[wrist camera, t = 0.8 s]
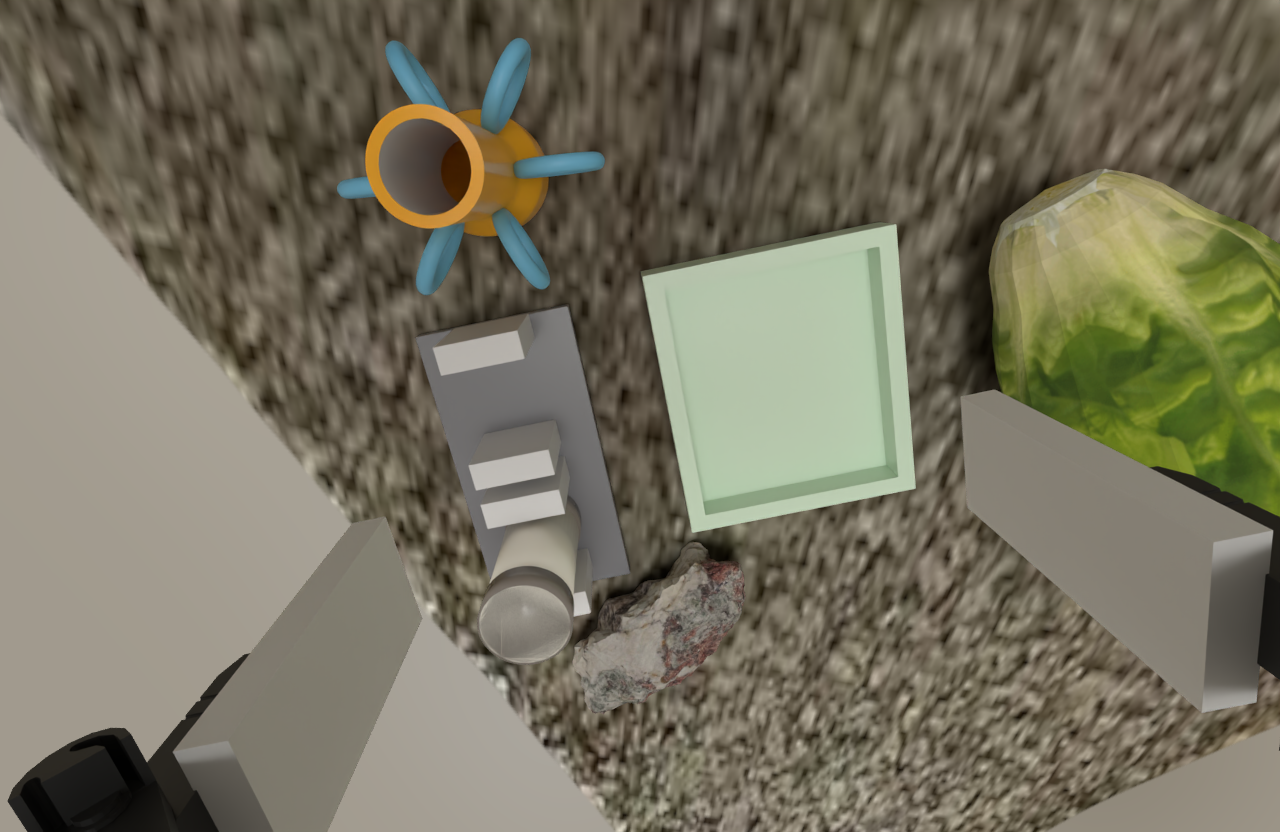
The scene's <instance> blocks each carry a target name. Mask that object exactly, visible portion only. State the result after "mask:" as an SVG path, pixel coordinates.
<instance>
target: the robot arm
mask: <svg viewBox="0 0 1280 832" xmlns="http://www.w3.org/2000/svg"><path fill="white" fill-rule="evenodd" d="M961 413H962V430H963V446H964V463H965V479H966V496H967V508H969V509H970V510H971V511H972V512H973V513H974V514H975V515H977V516H978V517H979V518H980V519H981V520H982V521H983V522H985V523H986V524H987V525H988V526H989V527H990V528H991V529H993V530H994V531H995V532H996V533H997V534H998V535H999V536H1001V537H1002V538H1003V539H1004V540H1005V541H1006V542H1007V543H1009V544H1010V545H1011V546H1012V547H1013V548H1014V549H1015V550H1017V551H1018V552H1019V553H1020V554H1021V555H1022V556H1023V557H1025V558H1026V559H1027V560H1028V561H1029V562H1030V563H1031V564H1033V565H1034V566H1035V567H1036V568H1037V569H1038V570H1039V571H1041V572H1042V573H1043V574H1044V575H1045V576H1046V577H1047V578H1049V579H1050V580H1051V581H1052V582H1053V583H1054V584H1055V585H1057V586H1058V587H1059V588H1060V589H1061V590H1062V591H1063V592H1064V593H1066V594H1067V595H1068V596H1069V597H1070V598H1071V599H1072V600H1074V601H1075V602H1076V603H1077V604H1078V605H1079V606H1080V607H1082V608H1083V609H1084V610H1085V611H1086V612H1087V613H1088V614H1090V615H1091V616H1092V617H1093V618H1094V619H1095V620H1096V621H1098V622H1099V623H1100V624H1101V625H1102V626H1103V627H1104V628H1106V629H1107V630H1108V631H1109V632H1110V633H1111V634H1112V635H1114V636H1115V637H1116V638H1117V639H1118V640H1119V641H1120V642H1122V643H1123V644H1124V645H1125V646H1126V647H1127V648H1128V649H1130V650H1131V651H1132V652H1133V653H1134V654H1135V655H1136V656H1138V657H1139V658H1140V659H1141V660H1142V661H1143V662H1144V663H1146V664H1147V665H1148V666H1149V667H1150V668H1151V669H1152V670H1154V671H1155V672H1156V673H1157V674H1158V675H1159V676H1160V677H1161V678H1163V679H1164V680H1165V681H1166V682H1167V683H1168V684H1169V685H1171V686H1172V687H1173V688H1174V689H1175V690H1176V691H1177V692H1179V693H1180V694H1181V695H1182V696H1183V697H1184V698H1185V699H1187V700H1188V701H1189V702H1190V703H1191V704H1192V705H1193V706H1195V707H1196V708H1197V709H1198V710H1199V711H1200V712H1201V713H1204V712H1209V711H1214V710H1219V709H1224V708H1230V707H1235V706H1240V705H1245V704H1250V703H1255V702H1256V700H1257V690H1258V680H1259V670H1260V666H1262V667H1263V668H1264V669H1266V670H1267V671H1268V672H1270V673H1271V674H1273V675H1274V676H1275V677H1277V678H1278V679H1279V680H1280V517H1279V516H1277V515H1275V514H1273V513H1270V512H1268V511H1266V510H1264V509H1262V508H1260V507H1258V506H1256V505H1254V504H1252V503H1250V502H1247V503H1244V501H1243V499H1241V498H1239V497H1237V496H1235V495H1233V494H1231V493H1229V492H1227V491H1223V492H1221V490H1220V488H1219V487H1216V486H1214V485H1212V484H1210V483H1208V482H1206V481H1204V480H1202V479H1200V478H1198V477H1196V476H1194V475H1191V474H1187V473H1183V472H1179V471H1175V470H1171V469H1167V468H1163V467H1159V466H1155V467H1150V468H1149V467H1147V466H1145V465H1143V464H1141V463H1139V462H1137V461H1135V460H1133V459H1131V458H1129V457H1127V456H1125V455H1123V454H1121V453H1119V452H1117V451H1115V450H1113V449H1111V448H1109V447H1107V446H1105V445H1103V444H1102V443H1100V442H1098V441H1096V440H1094V439H1092V438H1090V437H1088V436H1086V435H1084V434H1082V433H1080V432H1078V431H1076V430H1074V429H1072V428H1070V427H1068V426H1066V425H1064V424H1062V423H1060V422H1058V421H1056V420H1054V419H1052V418H1050V417H1048V416H1046V415H1044V414H1042V413H1040V412H1038V411H1036V410H1034V409H1032V408H1030V407H1028V406H1026V405H1024V404H1023V403H1021V402H1019V401H1017V400H1015V399H1013V398H1011V397H1009V396H1007V395H1005V394H1003V393H1001V392H999V391H997V390H990V391H985V392H980V393H976V394H971V395H966V396H961ZM421 620H422V617H421V614H420V611H419V608H418V605H417V603H416V600H415V597H414V594H413V592H412V589H411V586H410V583H409V580H408V578H407V575H406V572H405V569H404V567H403V564H402V561H401V558H400V556H399V553H398V550H397V547H396V545H395V542H394V539H393V536H392V534H391V531H390V528H389V525H388V522H387V520H386V517H381V518H376V519H371V520H366V521H361V522H357V523H352V525H351V526H350V527H349V528H348V530H347V531H346V533H345V534H344V535H343V536H342V537H341V539H340V540H339V541H338V542H337V544H336V545H335V546H334V548H333V549H332V550H331V551H330V553H329V554H328V555H327V556H326V558H325V559H324V560H323V561H322V563H321V564H320V565H319V567H318V568H317V569H316V570H315V572H314V573H313V574H312V575H311V577H310V578H309V579H308V581H307V582H306V583H305V584H304V586H303V587H302V588H301V589H300V591H299V592H298V593H297V595H296V596H295V597H294V599H293V600H292V601H291V602H290V603H289V605H288V606H287V607H286V608H285V610H284V611H283V612H282V614H281V615H280V616H279V617H278V619H277V620H276V621H275V622H274V624H273V625H272V626H271V628H270V629H269V630H268V632H267V633H266V634H265V635H264V636H263V638H262V639H261V641H260V642H259V643H258V644H257V646H256V647H255V648H254V649H253V650H252V652H251V653H249V654H245V655H243V656H242V657H241V658H239V659H238V660H237V661H236V662H234V663H233V664H232V665H231V666H229V667H228V668H227V669H226V670H225V671H223V672H222V673H221V674H220V675H218V677H217V678H216V679H215V680H214V681H213V683H212V684H211V685H210V686H209V687H208V689H207V690H206V691H205V692H204V694H203V695H202V696H201V697H200V698H201V700H200V701H198V702H196V703H195V705H194V706H193V707H192V708H191V710H190V711H189V712H188V713H187V714H186V719H185V720H181V722H180V723H179V724H178V726H177V727H176V728H175V729H174V730H173V731H172V733H171V734H170V735H169V736H168V738H167V739H166V740H165V741H164V742H163V744H162V745H161V746H160V747H159V749H158V750H157V751H156V752H155V754H154V755H153V756H152V757H151V759H150V760H149V761H148V762H146V760H145V759H144V757H143V755H142V753H141V752H140V750H139V748H138V746H137V744H136V743H135V741H134V739H133V737H132V735H131V734H130V733H129V732H128V731H127V730H126V729H125V728H109V729H105V730H101V731H98V732H94V733H91V734H89V735H86V736H84V737H82V738H80V739H78V740H75V741H73V742H71V743H69V744H67V745H66V746H64V747H62V748H61V749H59V750H57V751H56V752H54V753H52V754H51V755H49V756H48V757H46V758H45V759H44V760H42V761H41V762H40V763H39V764H37V765H36V766H35V767H34V768H32V769H31V770H30V771H29V772H27V773H26V775H24V777H23V778H22V779H21V780H20V781H19V782H18V783H17V784H16V785H15V787H14V788H13V789H12V792H11V794H10V797H9V799H8V803H9V804H10V806H11V807H12V809H13V810H14V812H15V814H16V815H17V816H18V818H19V820H20V821H21V823H22V824H23V826H24V827H25V829H26V830H27V832H327V831H328V829H329V827H330V824H331V822H332V820H333V818H334V815H335V813H336V811H337V809H338V806H339V804H340V802H341V800H342V798H343V795H344V793H345V791H346V789H347V786H348V784H349V782H350V779H351V777H352V775H353V773H354V771H355V768H356V766H357V764H358V762H359V759H360V757H361V755H362V753H363V750H364V748H365V746H366V744H367V741H368V739H369V737H370V735H371V732H372V730H373V728H374V725H375V723H376V721H377V719H378V716H379V714H380V712H381V710H382V708H383V706H384V703H385V701H386V699H387V696H388V694H389V692H390V690H391V688H392V685H393V683H394V681H395V679H396V676H397V674H398V672H399V669H400V667H401V665H402V663H403V660H404V658H405V656H406V654H407V652H408V649H409V647H410V645H411V643H412V640H413V638H414V636H415V634H416V631H417V629H418V627H419V625H420V622H421ZM1279 750H1280V747H1279Z"/></svg>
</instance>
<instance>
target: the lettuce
mask: <svg viewBox="0 0 1280 832" xmlns="http://www.w3.org/2000/svg"><path fill="white" fill-rule="evenodd" d="M989 278H990V285H991V293H992V300H993V308H994V310H993V328H992V343H993V352H994V360H995V369H996V373H997V377H998V381H999V386H1000V390H1001V393H1003V394H1005V395H1007V396H1009V397H1011V398H1013V399H1015V400H1017V401H1019V402H1021V403H1023V404H1024V405H1026V406H1028V407H1030V408H1032V409H1034V410H1036V411H1038V412H1040V413H1042V414H1044V415H1046V416H1048V417H1050V418H1052V419H1054V420H1056V421H1058V422H1060V423H1062V424H1064V425H1066V426H1068V427H1070V428H1072V429H1074V430H1076V431H1078V432H1080V433H1082V434H1084V435H1086V436H1088V437H1090V438H1092V439H1094V440H1096V441H1098V442H1100V443H1102V444H1103V445H1105V446H1107V447H1109V448H1111V449H1113V450H1115V451H1117V452H1119V453H1121V454H1123V455H1125V456H1127V457H1129V458H1131V459H1133V460H1135V461H1137V462H1139V463H1141V464H1143V465H1145V466H1147V467H1149V468H1150V467H1155V466H1159V467H1163V468H1167V469H1171V470H1175V471H1179V472H1183V473H1187V474H1191V475H1194V476H1196V477H1198V478H1200V479H1202V480H1204V481H1206V482H1208V483H1210V484H1212V485H1214V486H1216V487H1219V488H1220V490H1221V492H1223V491H1227V492H1229V493H1231V494H1233V495H1235V496H1237V497H1239V498H1241V499H1243V501H1244V503H1247V502H1250V503H1252V504H1254V505H1256V506H1258V507H1260V508H1262V509H1264V510H1266V511H1268V512H1270V513H1273V514H1275V515H1277V516H1279V517H1280V244H1278V243H1277V242H1275V241H1274V240H1272V239H1271V238H1269V237H1267V236H1266V235H1264V234H1263V233H1261V232H1260V231H1258V230H1256V229H1255V228H1253V227H1252V226H1250V225H1247V224H1245V223H1242V222H1240V221H1237V220H1234V219H1232V218H1229V217H1227V216H1224V215H1221V214H1219V213H1216V212H1214V211H1211V210H1209V209H1206V208H1204V207H1203V206H1201V205H1199V204H1197V203H1196V202H1194V201H1192V200H1191V199H1189V198H1187V197H1185V196H1184V195H1182V194H1180V193H1178V192H1177V191H1175V190H1173V189H1172V188H1170V187H1168V186H1166V185H1165V184H1163V183H1161V182H1158V181H1155V180H1152V179H1148V178H1145V177H1142V176H1139V175H1136V174H1132V173H1126V172H1120V171H1114V170H1108V169H1098V170H1095V171H1092V172H1089V173H1086V174H1084V175H1081V176H1079V177H1076V178H1073V179H1071V180H1068V181H1066V182H1063V183H1061V184H1058V185H1056V186H1053V187H1051V188H1048V189H1046V190H1044V191H1043V192H1041V193H1040V194H1039V195H1037V196H1036V197H1035V198H1033V199H1032V200H1030V201H1029V202H1028V203H1026V204H1025V205H1024V206H1022V207H1021V208H1020V209H1018V210H1017V211H1015V212H1014V213H1013V214H1011V215H1010V216H1009V217H1008V218H1006V219H1005V220H1004V221H1003V222H1002V224H1001V225H1000V228H999V231H998V234H997V237H996V240H995V243H994V246H993V248H992V254H991V260H990V266H989Z"/></svg>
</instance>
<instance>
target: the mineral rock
mask: <svg viewBox="0 0 1280 832" xmlns="http://www.w3.org/2000/svg"><path fill="white" fill-rule="evenodd" d="M743 588H744V575H743V572H742V570H741V564H739V563H738V562H735V561H721V562H716V561H715V560H713V559H711V558H710V555H709V552H708V550H707V549H706V548H704V547H703V546H702V544H701V543H696V542H690V543H688V544H687V545H686V546H685V547H684V548H683V549H681V555H680V557H679V558H678V559H677V560H676V561H675V563H674V564H673V566H672V568H671V569H670V571H669V572H668V574H667V576H666V578H662V579H659V580H648V581H646V582H644V583H641V584H640V585H639V586H638V587H637V589H636V590H635V591H634V592H632V593H630V594H628V595H622V596H619V597H614V598H609V599H607V600H606V601H605V603H604V605H603V606H602V608H601V610H600V613H599V614H598V627H597V629H595V630H594V631H593V632H592V633H591V634H590V635H589V637H587V638H586V639H582V640H581V641H579V642H578V643H577V644H576V645H575V646H574V648H575V655H574V658H573V667H574V668H575V670H576V671H577V673H579V674H580V675H581V676H582V678H581V686H582V687H583V688H584V692H585V698H584V699H585V702H586V704H587V706H588V708H589V709H590V710H591V711H592V712H593V713H598V712H600V713H602V714H604V713H605V712H606V711H608V710H611V709H615V708H616V707H618V706H620V705H622V704H625V703H627V702H629V703H636V704H639V703H643V702H645V701H646V700H647V698H648V696H649V695H651V694H653V693H655V692H658V691H660V690H661V689H664V688H665V687H669V686H672V687H674V686H675V685H677V684H680V683H681V681H682V680H683V679H684V678H686V677H688V676H692V674H693V671H694V670H695V669H696V668H697V667H699V666H701V664H702V663H703V662H704V660H705V658H706V657H707V656H709V655H711V654H713V653H714V652H716V651H717V648H718V646H719V643H720V641H721V640H722V639H723V637H724V636H726V635H727V632H728V630H730V629H731V628H732V627H733V625H734V623H735V622H736V621H738V619H739V617H740V615H741V613H742V606H743V604H744V600H745V598H746V596H745V592H744V589H743Z"/></svg>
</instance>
